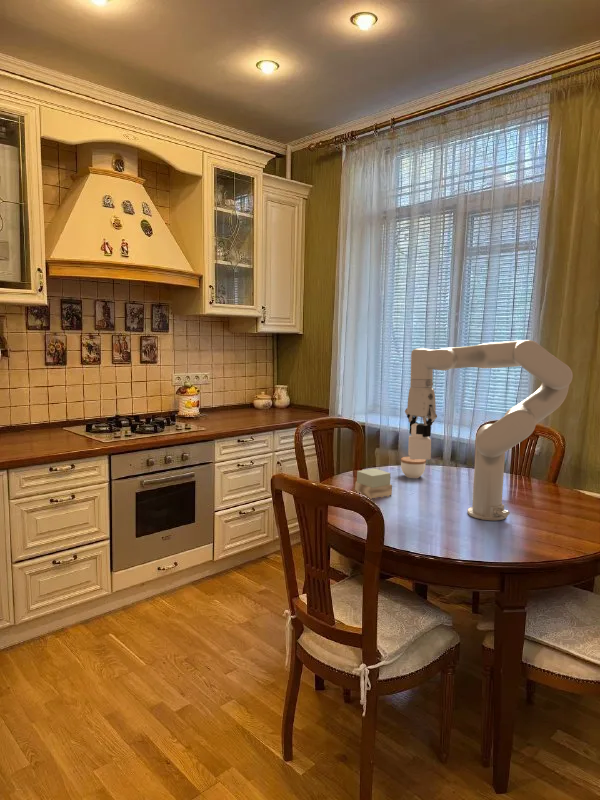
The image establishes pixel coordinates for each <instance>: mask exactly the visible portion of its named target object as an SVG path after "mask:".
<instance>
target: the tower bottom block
mask: <svg viewBox="0 0 600 800" xmlns="http://www.w3.org/2000/svg"><path fill="white" fill-rule="evenodd" d="M354 483H355V485H354V492H356V491H357V493H356V494H358V493H359V492H361V493H360V494H362V495H365V496H367V497H368V498H367V497H366V498H367V499H369V498H370V500H373V499H372V498H375V499H377V498H376V497H381V498H384V497H383V496H387V497H390V496H389V495H393V485H392V484H391V483H390V485H386V486H380V487H375V488H371V487H368V486H365V485H363V484H360V483H357V481H355V482H354ZM355 490H356V491H355ZM360 494H359V495H360ZM362 495H361V496H362ZM365 496H364V497H365Z"/></svg>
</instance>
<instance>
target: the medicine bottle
mask: <svg viewBox="0 0 600 800" xmlns="http://www.w3.org/2000/svg"><path fill="white" fill-rule="evenodd" d="M423 425H424V422H423V423H422V422H421V423H420V422H418V423H415V424H412V425H411V434H410V435H408V445H407V446H408V448H407V450H408V452H407V453H408V454H407V456H408V457H410V459H426V460H431V458H432V439H431V438H430V437H423Z"/></svg>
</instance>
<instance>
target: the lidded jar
mask: <svg viewBox="0 0 600 800" xmlns="http://www.w3.org/2000/svg"><path fill="white" fill-rule="evenodd" d="M426 463H427V459H410V457H409V456H403V457H401V458H400V469H401V471H402V473H403V475H404V476H405V477H406V478H408V479H419V478H421V477H422V475H423V474H424V473H425V469H426Z"/></svg>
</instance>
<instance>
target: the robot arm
mask: <svg viewBox="0 0 600 800" xmlns="http://www.w3.org/2000/svg"><path fill="white" fill-rule="evenodd" d="M410 354H411V355H410V386H409V389H408V396H407V407H406V409H405V410H404V414H405V415H406V418H407V419H408V423H409V434H410V435H411V425H412V424H415V423H419V422H418V418H422V421H423V423H424V425H423V437H429V438H430V437H431V436H432V435H431V432H432V425H433V423H434V422H435V421H436V419H437V418H438V415H437V413H436V411H437V410H436V409H437V407H436V394H435V389H434V388H433V385H434V381H433V375H434V370H436V371H441V372H442V371H450V370H451V369H452V370H453V369H454V370H455V369H464V368H465V369H466V368H468V369H469V368H479V369H499V368H501V369H502V368H512V367H513V368H515V367H517V368H518V367H522V368H523V369H524V370H525V371H527V372H528V373H529V374H530V375H532V376H533V377H534V378H536V379H537V380H539V381H540V382H541V384H540V386H539V387H538V389H537V390H536V391H534V392H533V393H532V394H530V395H529V396H528V397H526V398H525V399H523V400H522V401H521V402H519V403H518V404H516V405H514V406H512V407H511V408H509V409H508V410H507V411H506V412H505V414H504V416H502V417H501V418H499V419H498V420H497V421H495V422H494V423H488V424H487V423H486V424H484V425H482V426H480V428H479V429H478V430H477V433H476V435H475V436H476V437H475V455H474V456H475V457H474V468H473V469H474V472H473V492H472V506H470V507H469V508H467V511H466V512H467V514H468V515H469V516H470V517H472V518H475V519H478V520H483V521H493V522H494V521H502V520H503V521H504V519H507V518H508V516H509V515H510V512H511V511H510V510H507V509H505V504H503V491H504V474H505V459H506V452H507V451H509V450H511V449H512V448H514V447H516V446H517V445H518V444H520V443H521V442H523V441H524V440H526V439H528V437H530V436H531V435H532V434H533V432H534V431H535V429H536V426H537V424H538V423H540V422H541V421H543V420H544V419H545V418H547V417H548V416H550V415H551V414H553V412H555V411H556V410H557V409H559V408H560V407H561V405H562V404H563V403H564V401H565V400H566V399H567V395H568V393H569V389H570V384H571V383H572V381H573V377H574V375H573V371H572V369H571V367H569V365H568V364H566V363H565V362H563V361H562V360H560V359H559V358H557V357H556V356H555V355H553V354H552V353H550V352H549V351H548V350H547V349H546V348H545V347H543V346H541V344H540V343H538V342H537V341H534V340H531V339H521V340H520V339H519V340H509V341H508V340H507V341H499V342H486V343H481V344H475V345H468V346H458V347H457V346H455V347H443V348H439V349H430V348H414V349H412V351H411V353H410Z"/></svg>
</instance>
